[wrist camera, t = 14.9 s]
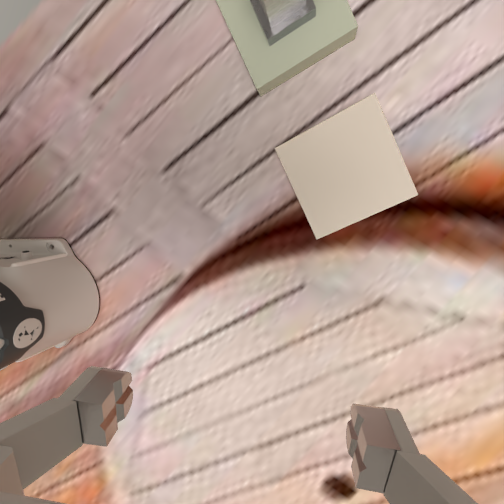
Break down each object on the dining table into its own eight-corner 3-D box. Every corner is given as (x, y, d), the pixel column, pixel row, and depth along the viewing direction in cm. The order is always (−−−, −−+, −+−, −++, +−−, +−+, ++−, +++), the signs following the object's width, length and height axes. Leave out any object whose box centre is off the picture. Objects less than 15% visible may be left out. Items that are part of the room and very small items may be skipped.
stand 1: (260, 96, 36) (256, 89, 33) (217, 3, 35) (210, -12, 32) (354, 38, 32) (357, 26, 30) (310, -66, 32) (309, -88, 29)
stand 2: (316, 236, 37) (316, 239, 35) (277, 151, 36) (274, 148, 34) (410, 195, 34) (418, 194, 32) (370, 100, 33) (374, 92, 31)
